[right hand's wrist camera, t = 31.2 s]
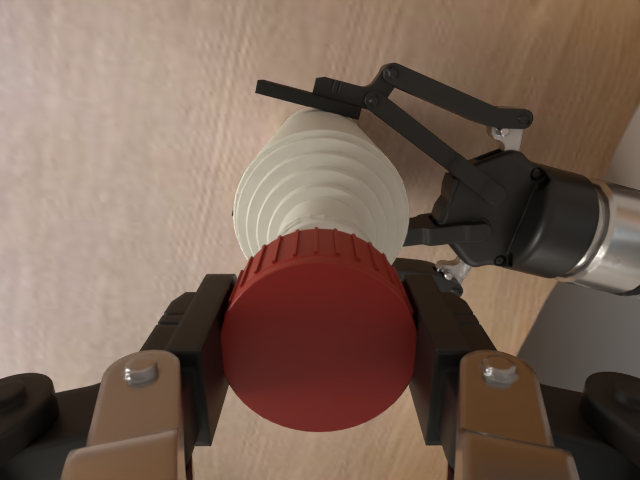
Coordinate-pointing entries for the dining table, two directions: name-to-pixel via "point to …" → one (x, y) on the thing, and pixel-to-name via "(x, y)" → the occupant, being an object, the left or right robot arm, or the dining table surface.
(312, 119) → the bottle
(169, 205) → the dining table surface
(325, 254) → the cap
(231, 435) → the dining table surface
